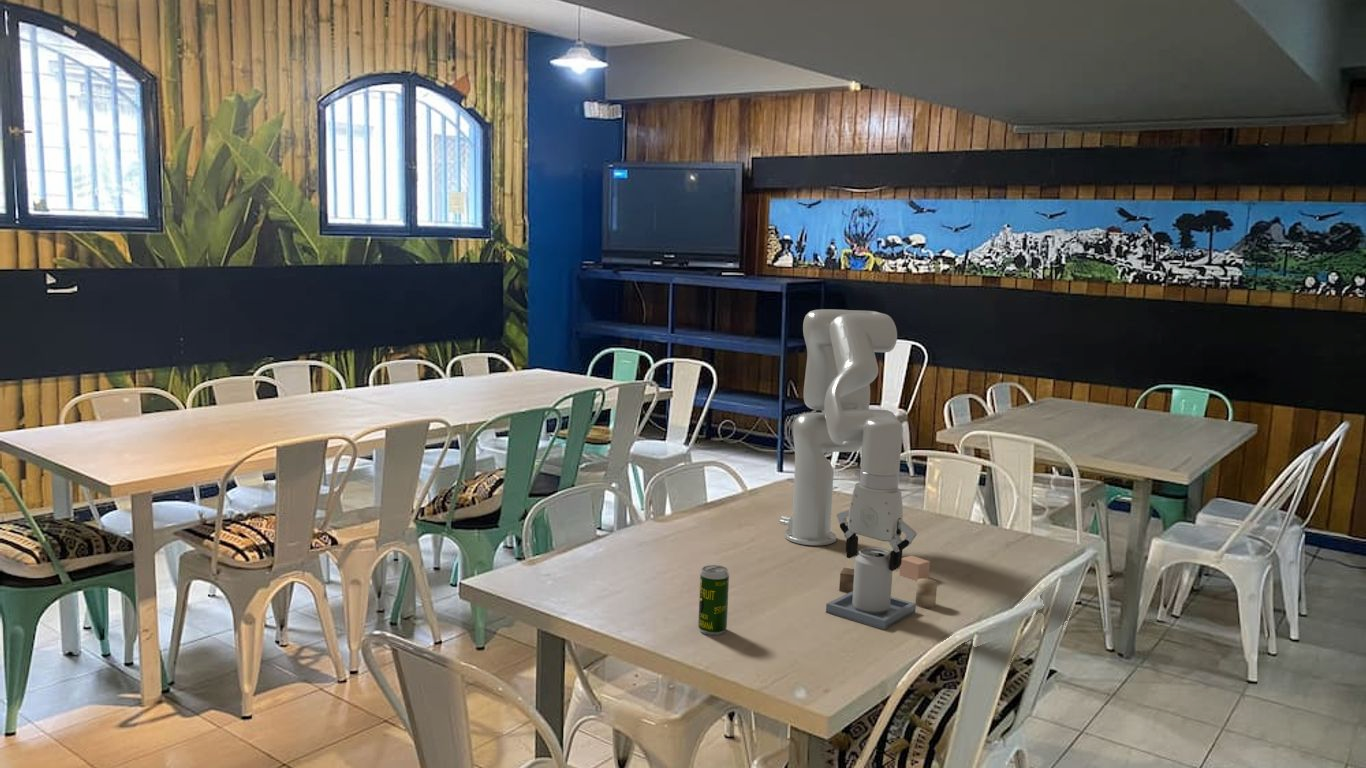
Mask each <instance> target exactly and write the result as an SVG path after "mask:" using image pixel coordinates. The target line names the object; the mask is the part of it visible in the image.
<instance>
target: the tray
mask: <svg viewBox="0 0 1366 768" xmlns="http://www.w3.org/2000/svg"><path fill="white" fill-rule="evenodd" d="M852 600H853V591H852V592H847V593H845V594H844V595H842V596H840V597H837V598H836V599H833V600H831V601H829V602H828V603H826V606H825V607H826V608H825V613H827V614H830V615H832V616H833V615H834V616H837V617H839V618H844V619H846V620H850V621H853V622H857V623H860V624H864V625H866V626H870V627H873V628H876V629H880V630H883V631H885V630H886V629H888V628H890V627H891V626H894V625H896V624H898V623H899V622H900V621H903V620H904V619H906V618H907V617H910V616H911V615H913V614H914V613H916V608H917V607H916V606H917V605H916V602H915V603H914V602H911V601H907V600H903V599H900V598H897V597H893V596H891V602H890V608H889V609H888V610H886V611H885V612H884V613H882V614H867V613H863V612H860V611H858V610H857V609H856V607H855V606H854V605H853V603H852Z"/></svg>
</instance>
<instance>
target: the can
mask: <svg viewBox="0 0 1366 768" xmlns="http://www.w3.org/2000/svg"><path fill="white" fill-rule="evenodd" d="M889 564H890V551H888V550H886V549H882V548H877V547H864V548H861V549H858V553H857V555H856V556H854V568H853V569H854V584H853V600H852V603H853V605H854V606H855V607H856V609H857V610H858V611H860V612H863V613H867V614H882V613H884V612H885V611H886V610H888V609H889V608H890V602H891V597H892V586H893V572H894V571H891V570H890V569H889Z"/></svg>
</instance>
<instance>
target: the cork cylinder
mask: <svg viewBox="0 0 1366 768" xmlns="http://www.w3.org/2000/svg"><path fill="white" fill-rule="evenodd" d="M937 588H938V582H937V581H936V580H935V579H932V578H928V579H927V578H921V579H918V580H917V581H916V593H915V604H916V606H917V607H919V608H923V609H934V608H936V602H937V592H938V591H937Z"/></svg>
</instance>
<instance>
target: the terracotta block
mask: <svg viewBox="0 0 1366 768" xmlns="http://www.w3.org/2000/svg"><path fill="white" fill-rule="evenodd" d="M930 564H931V563H930V560H927V559H924V558H921V557H918V556H915V555H909V556H905V557H902V562H901V565H900V567H899V573H898V574H899V576H900V577H903V578H906V579H908V580H911V579H912V581H914V580H915V582H917V580H918V579H921V578H927V579H930V576H929V575H930Z"/></svg>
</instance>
